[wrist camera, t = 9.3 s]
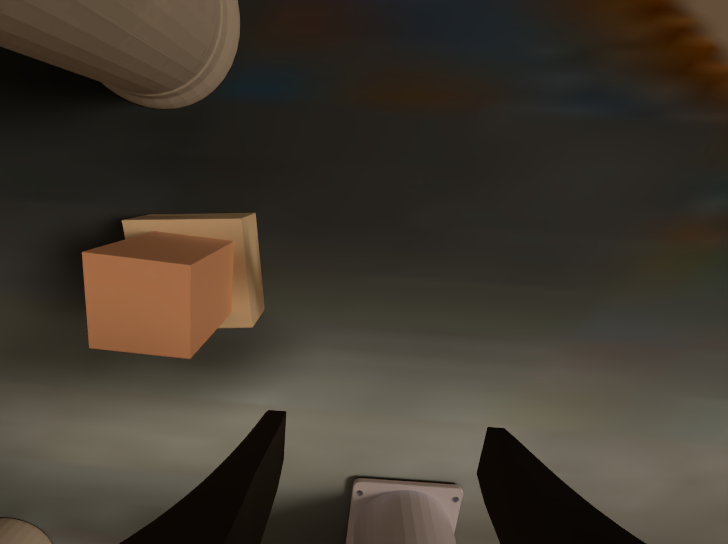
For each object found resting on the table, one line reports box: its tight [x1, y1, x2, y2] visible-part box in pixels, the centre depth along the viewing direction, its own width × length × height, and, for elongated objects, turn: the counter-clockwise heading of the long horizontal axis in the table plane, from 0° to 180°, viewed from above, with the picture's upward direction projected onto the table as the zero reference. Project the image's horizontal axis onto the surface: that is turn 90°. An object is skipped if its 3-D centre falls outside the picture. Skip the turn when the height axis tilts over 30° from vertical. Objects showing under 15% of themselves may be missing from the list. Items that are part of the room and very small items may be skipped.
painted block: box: [82, 231, 234, 359], centre depth 16 cm, size 4×4×5 cm
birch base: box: [122, 213, 264, 328], centre depth 20 cm, size 6×6×3 cm
